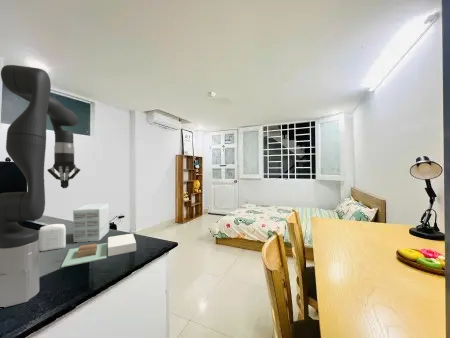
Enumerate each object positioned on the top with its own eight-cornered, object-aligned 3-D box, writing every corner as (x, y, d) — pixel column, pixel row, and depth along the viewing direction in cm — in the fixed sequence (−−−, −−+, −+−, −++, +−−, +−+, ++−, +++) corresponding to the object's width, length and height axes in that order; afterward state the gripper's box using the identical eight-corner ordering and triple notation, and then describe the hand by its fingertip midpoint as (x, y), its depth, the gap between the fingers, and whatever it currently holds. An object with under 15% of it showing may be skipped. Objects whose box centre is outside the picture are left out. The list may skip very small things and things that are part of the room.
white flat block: (136, 250, 97) (136, 242, 97) (107, 256, 91) (107, 247, 91) (132, 240, 111) (132, 233, 111) (108, 244, 105) (108, 237, 105)
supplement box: (86, 232, 124) (85, 204, 124) (109, 231, 127) (109, 203, 127) (72, 243, 107) (72, 209, 107) (99, 240, 111) (99, 208, 111)
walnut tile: (77, 252, 88) (77, 258, 89) (95, 249, 92) (95, 254, 92) (79, 245, 96) (80, 250, 96) (97, 243, 100) (97, 248, 100)
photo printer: (66, 245, 105) (66, 221, 104) (65, 248, 101) (65, 223, 101) (40, 249, 99) (39, 225, 99) (38, 252, 95) (37, 227, 95)
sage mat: (106, 258, 89) (106, 257, 89) (61, 267, 81) (61, 266, 81) (107, 243, 107) (107, 242, 107) (69, 249, 98) (69, 249, 98)
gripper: (44, 151, 90) (44, 189, 90) (80, 152, 97) (80, 188, 97) (48, 152, 96) (49, 188, 96) (82, 153, 103) (82, 186, 103)
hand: (64, 188), depth 97 cm, fingers closed
